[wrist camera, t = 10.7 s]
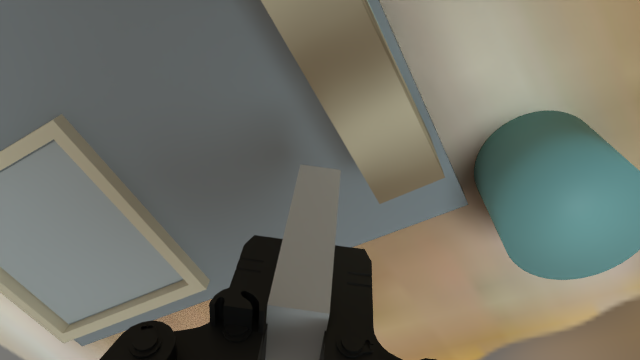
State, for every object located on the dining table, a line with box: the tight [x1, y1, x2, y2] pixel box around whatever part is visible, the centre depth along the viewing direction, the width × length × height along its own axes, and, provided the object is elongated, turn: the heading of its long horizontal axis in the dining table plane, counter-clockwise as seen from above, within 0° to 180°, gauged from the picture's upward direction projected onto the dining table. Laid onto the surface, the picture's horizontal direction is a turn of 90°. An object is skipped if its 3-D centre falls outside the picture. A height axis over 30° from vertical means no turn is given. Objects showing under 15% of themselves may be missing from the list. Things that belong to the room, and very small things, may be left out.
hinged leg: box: [261, 0, 445, 204], centre depth 16 cm, size 14×3×6 cm, turn 29°
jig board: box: [0, 0, 468, 346], centre depth 24 cm, size 30×20×2 cm, turn 118°
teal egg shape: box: [474, 111, 640, 280], centre depth 21 cm, size 6×6×6 cm
